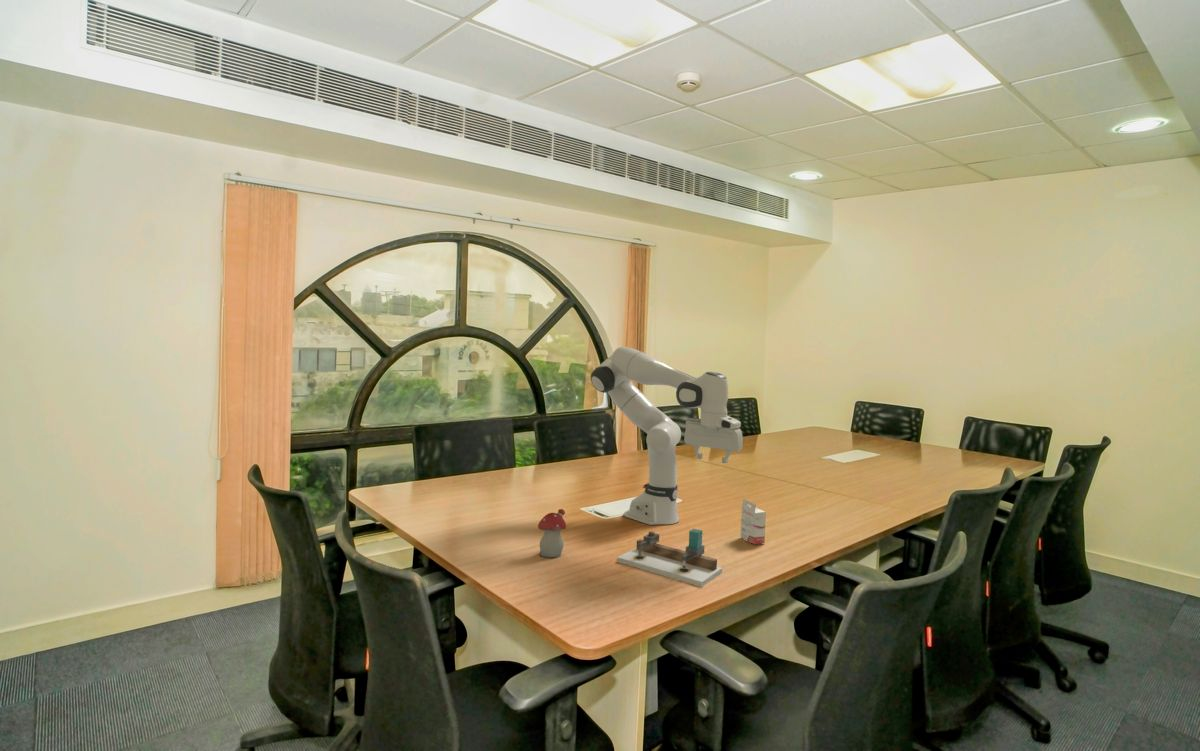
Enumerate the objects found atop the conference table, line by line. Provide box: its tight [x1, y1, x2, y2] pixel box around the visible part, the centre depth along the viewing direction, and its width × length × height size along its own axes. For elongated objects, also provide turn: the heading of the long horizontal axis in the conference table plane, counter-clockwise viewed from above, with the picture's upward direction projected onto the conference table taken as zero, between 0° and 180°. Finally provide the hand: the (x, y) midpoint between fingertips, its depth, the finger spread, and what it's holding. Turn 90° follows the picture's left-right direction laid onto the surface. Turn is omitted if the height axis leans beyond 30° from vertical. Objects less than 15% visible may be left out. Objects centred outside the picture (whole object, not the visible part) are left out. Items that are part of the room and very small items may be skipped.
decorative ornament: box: [537, 508, 567, 559], centre depth 194 cm, size 9×7×15 cm
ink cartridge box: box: [740, 498, 767, 545], centre depth 214 cm, size 9×5×15 cm, turn 21°
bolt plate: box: [616, 547, 723, 588], centre depth 187 cm, size 30×14×2 cm, turn 54°
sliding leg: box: [682, 528, 705, 568], centre depth 184 cm, size 4×10×10 cm, turn 144°
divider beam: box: [635, 530, 718, 571], centre depth 188 cm, size 28×10×7 cm, turn 54°
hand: (711, 460), depth 201 cm, fingers open, 8 cm apart
